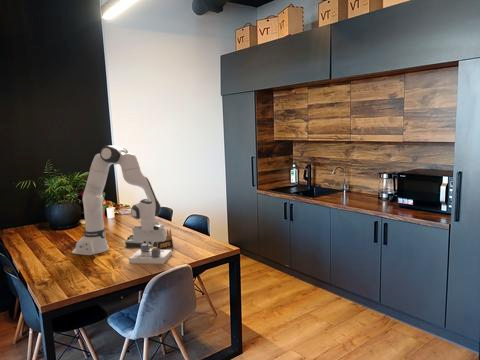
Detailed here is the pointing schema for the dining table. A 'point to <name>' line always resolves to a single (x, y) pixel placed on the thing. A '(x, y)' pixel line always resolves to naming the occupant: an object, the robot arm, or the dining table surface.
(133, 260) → the switch panel
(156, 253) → the tab near
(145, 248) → the tab far
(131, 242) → the communication device
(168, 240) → the ammunition clip
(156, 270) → the dining table surface
